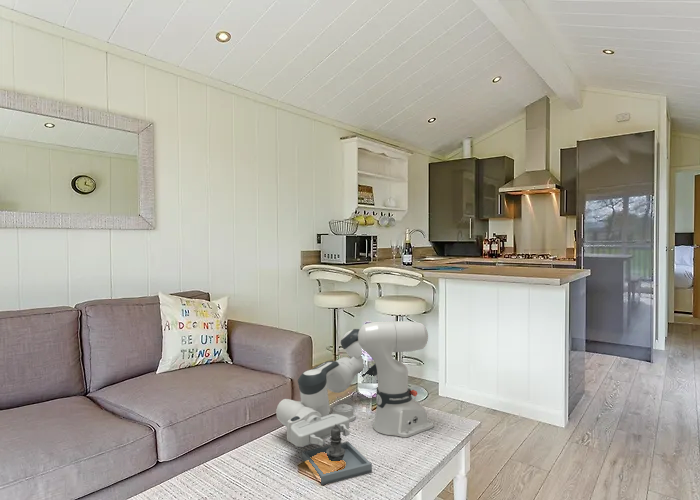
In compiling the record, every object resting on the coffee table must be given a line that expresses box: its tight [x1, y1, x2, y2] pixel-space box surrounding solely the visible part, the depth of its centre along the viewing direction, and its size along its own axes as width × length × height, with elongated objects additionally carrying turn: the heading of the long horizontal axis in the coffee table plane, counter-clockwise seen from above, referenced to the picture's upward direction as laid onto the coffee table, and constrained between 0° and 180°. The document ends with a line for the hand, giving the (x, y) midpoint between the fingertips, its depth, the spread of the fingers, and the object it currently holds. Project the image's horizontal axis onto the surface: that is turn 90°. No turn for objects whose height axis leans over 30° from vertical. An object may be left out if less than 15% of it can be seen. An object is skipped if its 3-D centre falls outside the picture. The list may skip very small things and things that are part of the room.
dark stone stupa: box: [326, 424, 345, 461], centre depth 135 cm, size 6×6×12 cm
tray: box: [301, 441, 373, 486], centre depth 135 cm, size 16×16×2 cm
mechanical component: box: [330, 403, 357, 423], centre depth 171 cm, size 10×4×10 cm
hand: (336, 437), depth 134 cm, fingers open, 8 cm apart
